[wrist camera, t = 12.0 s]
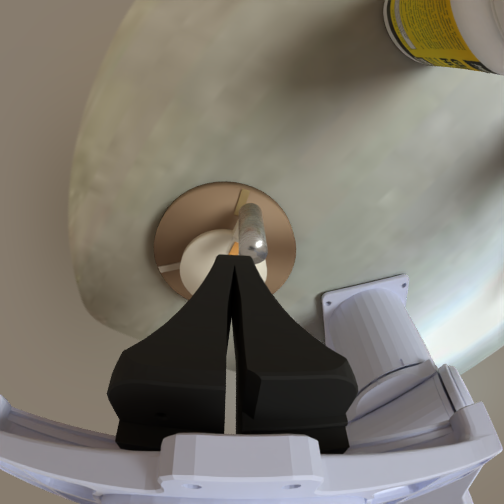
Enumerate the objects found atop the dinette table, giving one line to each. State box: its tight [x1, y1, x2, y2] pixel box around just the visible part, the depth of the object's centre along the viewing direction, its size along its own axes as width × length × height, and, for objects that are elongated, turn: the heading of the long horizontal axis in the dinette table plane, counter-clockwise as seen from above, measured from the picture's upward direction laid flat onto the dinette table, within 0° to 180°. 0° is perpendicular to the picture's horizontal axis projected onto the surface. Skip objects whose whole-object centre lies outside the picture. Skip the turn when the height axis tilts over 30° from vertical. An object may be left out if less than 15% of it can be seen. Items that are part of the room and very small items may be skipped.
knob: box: [180, 203, 268, 295], centre depth 18 cm, size 8×6×4 cm
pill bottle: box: [383, 0, 504, 75], centre depth 9 cm, size 6×6×11 cm
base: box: [154, 182, 296, 300], centre depth 22 cm, size 10×10×2 cm
